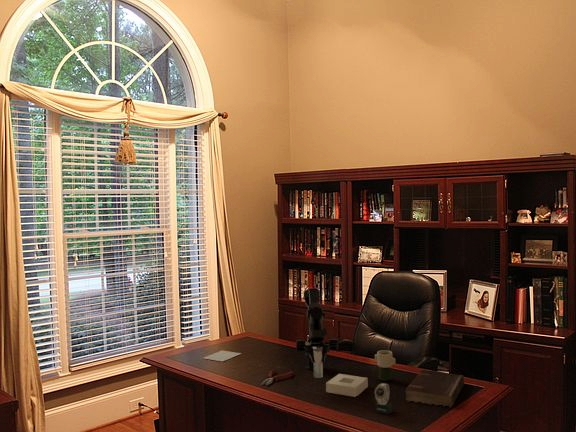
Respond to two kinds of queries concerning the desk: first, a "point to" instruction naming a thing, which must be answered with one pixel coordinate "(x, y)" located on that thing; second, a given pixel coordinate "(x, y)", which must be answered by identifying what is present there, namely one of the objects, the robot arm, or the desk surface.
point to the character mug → (385, 364)
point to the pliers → (276, 377)
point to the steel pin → (318, 361)
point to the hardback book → (435, 388)
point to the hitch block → (347, 385)
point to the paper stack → (222, 355)
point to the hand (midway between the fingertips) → (318, 362)
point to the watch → (382, 399)
